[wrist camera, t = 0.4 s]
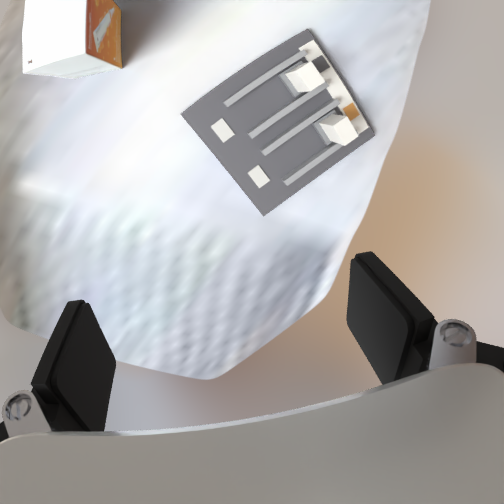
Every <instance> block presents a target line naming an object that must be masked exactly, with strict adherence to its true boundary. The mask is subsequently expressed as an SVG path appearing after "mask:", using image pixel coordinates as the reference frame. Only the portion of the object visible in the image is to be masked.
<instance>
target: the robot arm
mask: <svg viewBox="0 0 504 504" xmlns="http://www.w3.org/2000/svg"><path fill="white" fill-rule="evenodd" d="M347 324H348V327H349V329H350V330H351V332H352V334H353V335H354V337H355V339H356V340H357V342H358V344H359V345H360V347H361V349H362V350H363V352H364V354H365V355H366V357H367V359H368V361H369V362H370V364H371V366H372V367H373V369H374V371H375V372H376V374H377V376H378V378H379V379H380V381H381V383H382V385H381V386H378V387H375V388H371V389H368V390H365V391H362V392H358V393H355V394H351V395H348V396H345V397H341V398H338V399H334V400H330V401H326V402H322V403H319V404H315V405H310V406H307V407H302V408H298V409H293V410H289V411H284V412H279V413H275V414H270V415H264V416H259V417H254V418H248V419H242V420H236V421H229V422H223V423H215V424H208V425H199V426H192V427H191V426H190V427H181V428H170V429H157V430H140V431H105V432H104V429H105V423H106V417H107V411H108V404H109V399H110V394H111V388H112V383H113V378H114V373H115V368H116V360H115V357H114V355H113V353H112V351H111V349H110V347H109V345H108V343H107V341H106V339H105V337H104V334H103V332H102V330H101V328H100V326H99V324H98V322H97V319H96V317H95V315H94V313H93V310H92V308H91V306H90V304H89V303H85V301H84V300H76V301H69V302H68V303H67V304H66V306H65V308H64V310H63V312H62V314H61V316H60V318H59V320H58V322H57V325H56V327H55V329H54V331H53V333H52V335H51V337H50V339H49V342H48V344H47V346H46V348H45V351H44V353H43V355H42V357H41V360H40V362H39V365H38V367H37V369H36V372H35V374H34V377H33V379H32V382H31V385H32V386H33V389H32V391H31V392H30V391H28V390H21V391H17V392H15V393H13V394H12V395H11V396H9V398H8V399H7V400H6V401H5V403H4V405H3V408H2V417H3V420H4V421H3V422H2V423H0V504H504V348H502V347H498V346H494V345H490V344H486V343H482V342H478V341H476V334H475V332H474V330H473V329H472V327H470V326H469V325H468V324H467V323H465V322H463V321H460V320H456V319H448V320H444V321H442V322H440V323H438V322H437V321H436V320H435V319H434V316H433V315H432V313H431V312H430V311H429V310H428V309H427V308H426V307H425V306H424V305H423V304H422V303H421V301H420V300H419V299H418V298H417V297H416V296H415V295H414V294H413V293H412V292H411V291H410V290H409V289H408V288H407V287H406V286H405V284H404V283H403V282H402V281H401V280H400V279H399V278H398V277H397V276H396V275H395V274H394V273H393V272H392V271H391V270H390V269H389V268H388V267H387V266H386V265H385V264H384V263H383V262H382V261H381V260H380V259H379V258H378V257H377V256H376V255H375V254H374V253H373V252H371V251H370V252H365V253H359V254H356V255H355V258H354V259H352V260H351V266H350V281H349V295H348V307H347Z"/></svg>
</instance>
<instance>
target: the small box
mask: <svg viewBox="0 0 504 504" xmlns="http://www.w3.org/2000/svg"><path fill="white" fill-rule="evenodd" d="M22 44H23V73H24V74H35V75H45V76H53V77H61V78H70V79H77V78H81V77H85V76H90V75H94V74H99V73H104V72H109V71H114V70H119V69H122V58H121V9H120V8H119V7H118V6H117V5H116V3H115V2H114V1H113V0H26V2H25V11H24V23H23V31H22Z"/></svg>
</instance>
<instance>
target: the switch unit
mask: <svg viewBox="0 0 504 504" xmlns="http://www.w3.org/2000/svg"><path fill="white" fill-rule="evenodd" d="M299 61H302V62H303V63H307V62H310V61H311V62H312V63H313V65H314V66H315V67H316V69H317V70H318V72H319V73H320V75H321V76H322V78H323V79H324V81H325V82H324V83H323V84H321V85H319V86H318V87H316V88H315V89H313V90H312V91H309V92H302V93H301V94H299V95H298V96H296V97H293V96H292V94H291V93H290V92H289V90H288V89H287V87H286V86H285V85H284V83H283V82H282V81H281V79H280V78H279V76H278V75H279V74H280V73H282V72H283V71H285V70H286V69H288V68H290V67H291V66H293V65H294V64H296V63H298V62H299ZM332 109H334V110H335V111H336V113H337V114H338V115H342V116H347V117H348V119H349V120H350V122H351V124H352V125H353V127H354V129H355V131H356V132H357V134H358V137H357V138H355V139H354V140H353V141H351V142H350V143H348V144H347V145H345V146H344V145H341V144H338V143H335V142H332V143H330V144H329V145H325V144H324V142H323V140H322V139H321V137H320V136H319V134H318V133H317V131H316V130H315V128H314V127H313V125H312V124H311V123H313V122H314V121H315V120H317V119H318V118H320V117H321V116H323V115H324V114H326V113H327V112H329V111H330V110H332ZM181 115H182V117H183V118H184V119H185V120H186V121H187V123H188V124H189V125H190V126H191V127H192V129H193V130H194V131H195V132H196V133H197V135H198V136H199V137H200V138H201V139H202V141H203V142H204V143H205V144H206V145H207V147H208V148H209V149H210V150H211V152H212V153H213V154H214V155H215V156H216V158H217V159H218V160H219V161H220V163H221V164H222V165H223V166H224V168H225V169H226V170H227V171H228V173H229V174H230V175H231V176H232V177H233V179H234V180H235V181H236V182H237V184H238V185H239V186H240V187H241V189H242V190H243V191H244V192H245V194H246V195H247V196H248V197H249V199H250V200H251V201H252V202H253V204H254V205H255V206H256V208H257V209H258V210H259V211H260V213H261V214H262V215H263V216H265V215H266V214H267V213H269V212H270V211H272V210H273V209H274V208H276V207H277V206H278V205H280V204H281V203H282V202H284V201H285V200H286V199H288V198H289V197H291V196H292V195H293V194H295V193H296V192H297V191H299V190H300V189H301V188H303V187H304V186H306V185H307V184H308V183H310V182H311V181H312V180H314V179H315V178H317V177H318V176H319V175H321V174H322V173H323V172H325V171H326V170H328V169H329V168H330V167H332V166H333V165H335V164H336V163H337V162H339V161H340V160H341V159H343V158H344V157H346V156H347V155H348V154H350V153H351V152H353V151H354V150H355V149H357V148H358V147H360V146H361V145H362V144H364V143H365V142H367V141H368V140H369V139H371V138H372V137H374V136H375V134H374V132H373V131H372V129H371V127H370V125H369V123H368V122H367V120H366V118H365V116H364V114H363V113H362V111H361V109H360V108H359V106H358V104H357V102H356V101H355V99H354V97H353V96H352V94H351V92H350V91H349V89H348V88H347V86H346V84H345V83H344V81H343V80H342V78H341V76H340V75H339V73H338V72H337V70H336V69H335V67H334V66H333V64H332V63H331V61H330V60H329V58H328V57H327V55H326V54H325V52H324V51H323V50H322V48H321V47H320V45H319V44H318V43H317V41H316V40H315V38H314V37H313V36H312V34H311V33H310V32H309V30H308V29H307V30H305V31H303V32H301V33H299V34H298V35H296V36H294V37H292V38H291V39H289V40H287V41H286V42H284V43H282V44H281V45H279V46H277V47H276V48H274V49H272V50H271V51H269V52H267V53H266V54H264V55H263V56H261V57H260V58H258V59H256V60H255V61H253V62H252V63H250V64H249V65H247V66H246V67H244V68H243V69H241V70H240V71H238V72H237V73H235V74H234V75H232V76H231V77H230V78H228V79H227V80H225V81H224V82H223V83H221V84H220V85H218V86H217V87H216V88H214V89H213V90H211V91H210V92H209V93H207V94H206V95H205V96H203V97H202V98H201V99H199V100H198V101H197V102H195V103H194V104H193V105H192V106H190V107H189V108H188V109H186V110H185V111H184V112H183V113H181Z"/></svg>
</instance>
